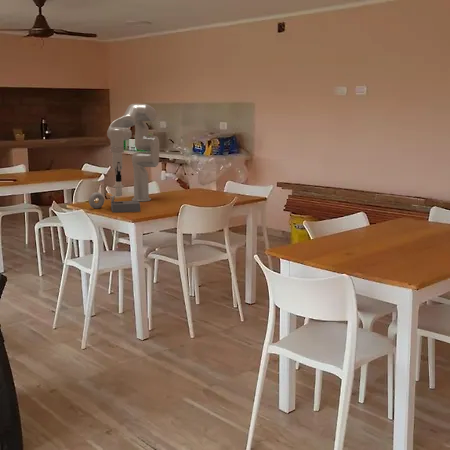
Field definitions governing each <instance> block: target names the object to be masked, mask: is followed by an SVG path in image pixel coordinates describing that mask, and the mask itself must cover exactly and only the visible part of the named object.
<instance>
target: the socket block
mask: <svg viewBox="0 0 450 450" xmlns="http://www.w3.org/2000/svg"><path fill="white" fill-rule="evenodd" d="M110 210H111V212H112V213H113V214H115V213H117V214H118V213H138V212H139V213H140V212H141V203H140V201H132V200H122V201H120V200H119V201H118V200H117V201H116V200H111V199H110Z"/></svg>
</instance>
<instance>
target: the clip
mask: <svg viewBox="0 0 450 450" xmlns="http://www.w3.org/2000/svg"><path fill="white" fill-rule="evenodd" d="M105 195H106V198H108V199H110V201H111V200H114V201H116V200H115V198H116V197H115V196H116V195H113V194H112V193H110V192H106V193H105Z"/></svg>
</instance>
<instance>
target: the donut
mask: <svg viewBox="0 0 450 450" xmlns="http://www.w3.org/2000/svg"><path fill="white" fill-rule="evenodd" d="M96 199H98V201H97V202H95V200H96ZM104 203H105V197H104V195H103V193H101V192H96V191H95V192H93V193H91V194H90V195H89V198H88V204H89V206H90V207H91V208H93V209H100V208H102V207H103V206H104Z"/></svg>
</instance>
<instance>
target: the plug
mask: <svg viewBox="0 0 450 450" xmlns="http://www.w3.org/2000/svg"><path fill="white" fill-rule="evenodd" d="M114 182H115V184H114V185H112V187H113V188H114V189H115V196H116V197H122V196H123V192H122V191H123V188H124V184H122V183H123V182H122V181H121V182H116V174H115V173H114Z"/></svg>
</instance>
